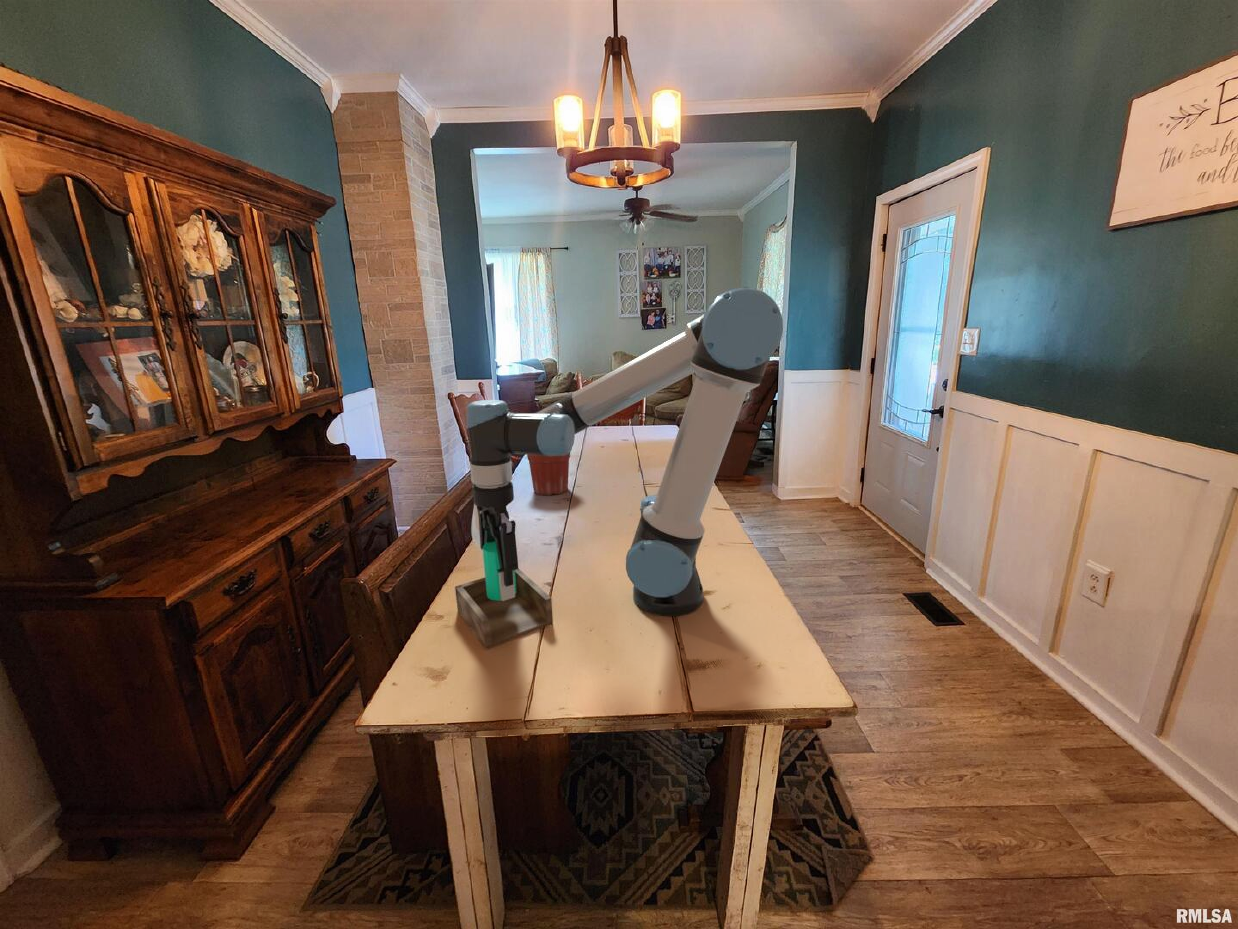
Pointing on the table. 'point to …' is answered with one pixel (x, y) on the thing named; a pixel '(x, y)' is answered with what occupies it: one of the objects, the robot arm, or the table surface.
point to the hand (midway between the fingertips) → (501, 591)
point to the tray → (504, 610)
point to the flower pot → (549, 473)
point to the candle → (492, 571)
